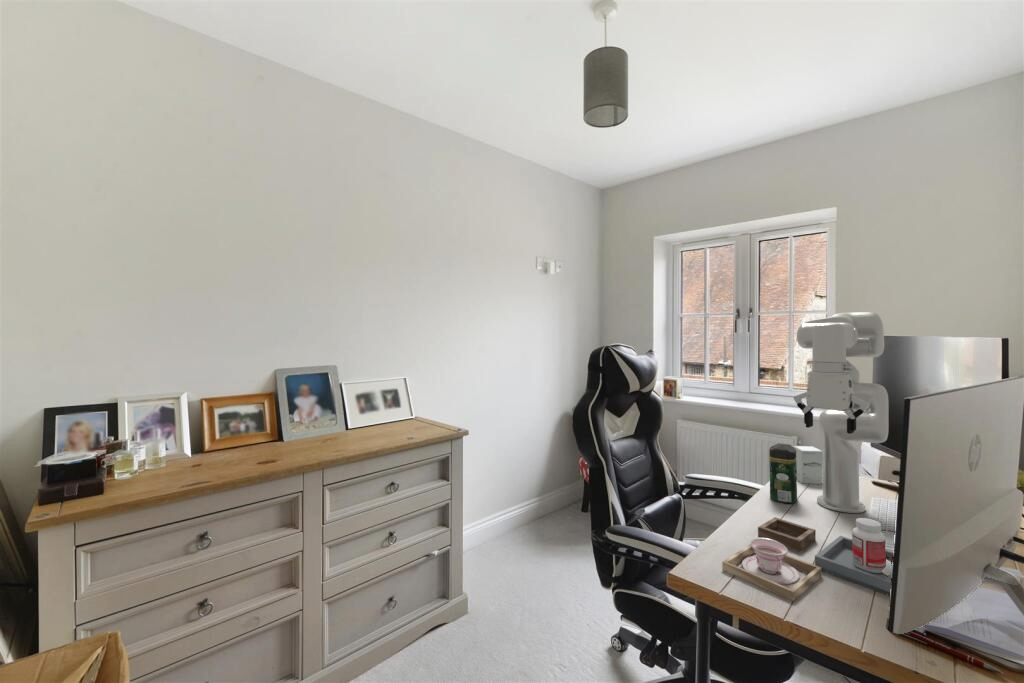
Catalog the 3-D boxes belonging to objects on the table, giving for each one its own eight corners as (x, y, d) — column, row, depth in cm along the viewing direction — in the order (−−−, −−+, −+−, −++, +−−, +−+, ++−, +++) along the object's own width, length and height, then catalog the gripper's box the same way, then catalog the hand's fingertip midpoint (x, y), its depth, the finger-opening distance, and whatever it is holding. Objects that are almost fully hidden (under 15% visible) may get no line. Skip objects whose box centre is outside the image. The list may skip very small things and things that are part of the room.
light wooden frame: (753, 549, 115) (753, 542, 115) (821, 576, 102) (821, 567, 102) (722, 569, 106) (722, 561, 106) (793, 601, 93) (793, 592, 93)
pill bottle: (889, 568, 103) (889, 522, 103) (880, 577, 100) (880, 530, 100) (857, 557, 108) (857, 514, 108) (848, 565, 105) (847, 520, 105)
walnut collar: (774, 527, 128) (774, 517, 128) (815, 540, 119) (815, 529, 119) (758, 537, 122) (757, 527, 121) (799, 552, 113) (799, 541, 113)
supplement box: (801, 483, 162) (801, 450, 162) (792, 477, 170) (792, 445, 169) (823, 484, 161) (823, 450, 161) (813, 478, 168) (812, 445, 168)
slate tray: (840, 546, 116) (840, 535, 116) (927, 574, 102) (927, 562, 102) (815, 568, 106) (814, 555, 106) (907, 602, 92) (907, 588, 92)
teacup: (733, 557, 112) (733, 533, 112) (782, 558, 111) (782, 534, 110) (755, 584, 100) (755, 557, 100) (810, 586, 99) (810, 559, 99)
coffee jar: (771, 492, 155) (771, 440, 154) (798, 497, 150) (797, 443, 149) (767, 500, 147) (767, 446, 147) (795, 506, 142) (794, 450, 142)
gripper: (872, 369, 115) (873, 433, 115) (799, 365, 129) (799, 423, 129) (863, 371, 110) (863, 437, 111) (788, 367, 124) (788, 426, 125)
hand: (829, 429), depth 120 cm, fingers open, 9 cm apart
